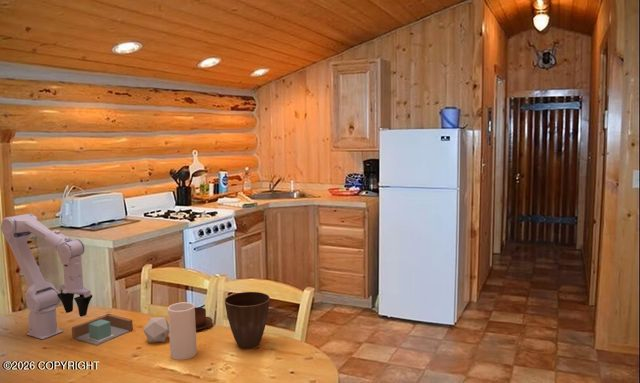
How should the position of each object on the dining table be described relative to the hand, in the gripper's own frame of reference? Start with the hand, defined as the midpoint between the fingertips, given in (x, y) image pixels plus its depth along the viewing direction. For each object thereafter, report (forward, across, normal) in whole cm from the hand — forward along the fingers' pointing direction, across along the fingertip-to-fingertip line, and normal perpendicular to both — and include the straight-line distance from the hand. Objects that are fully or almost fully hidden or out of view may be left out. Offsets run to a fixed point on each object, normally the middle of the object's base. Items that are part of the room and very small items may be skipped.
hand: (76, 313), depth 178 cm
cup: (+10, +41, +9) cm, 43 cm away
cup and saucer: (+10, +28, +29) cm, 41 cm away
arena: (+9, +4, +8) cm, 13 cm away
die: (+10, +25, +13) cm, 30 cm away
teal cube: (+9, +6, +5) cm, 12 cm away
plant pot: (+10, +55, +25) cm, 61 cm away
